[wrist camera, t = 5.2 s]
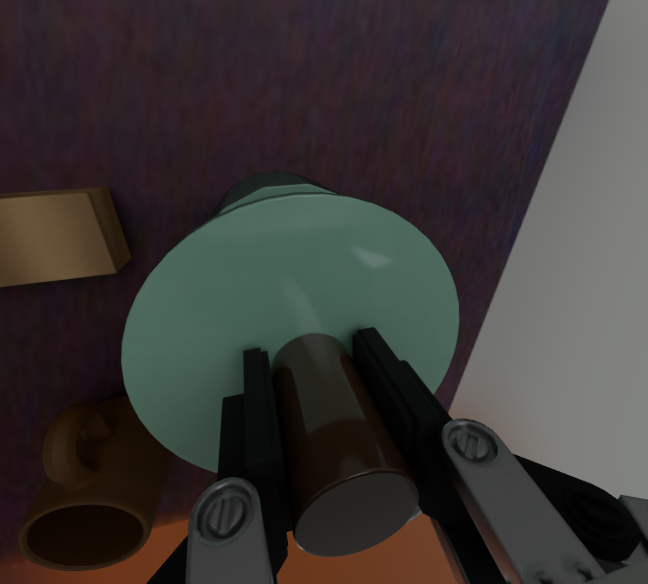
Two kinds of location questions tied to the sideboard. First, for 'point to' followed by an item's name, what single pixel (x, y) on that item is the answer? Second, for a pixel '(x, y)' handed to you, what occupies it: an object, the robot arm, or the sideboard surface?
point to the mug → (95, 488)
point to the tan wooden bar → (59, 236)
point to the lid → (296, 349)
